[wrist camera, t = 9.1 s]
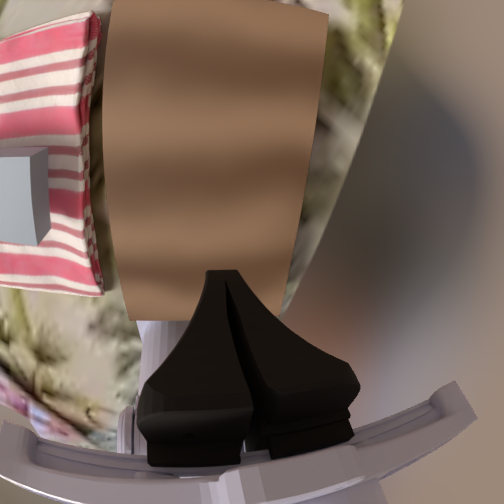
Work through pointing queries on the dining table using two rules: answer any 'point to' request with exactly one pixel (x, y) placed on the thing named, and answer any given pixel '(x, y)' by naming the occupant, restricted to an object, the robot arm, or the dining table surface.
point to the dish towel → (54, 149)
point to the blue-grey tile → (24, 195)
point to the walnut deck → (207, 145)
